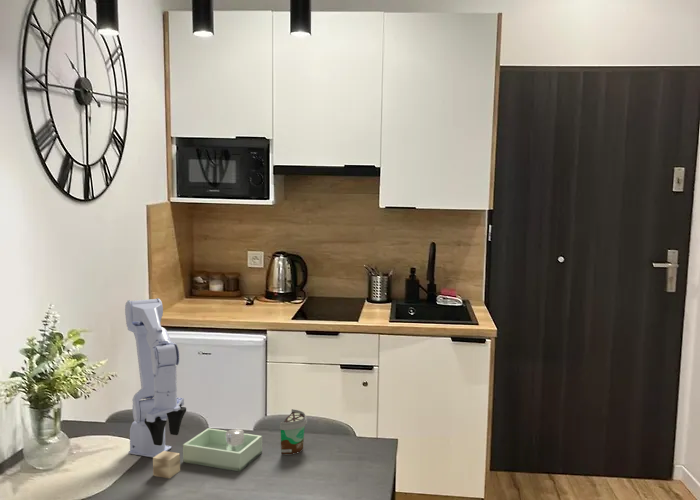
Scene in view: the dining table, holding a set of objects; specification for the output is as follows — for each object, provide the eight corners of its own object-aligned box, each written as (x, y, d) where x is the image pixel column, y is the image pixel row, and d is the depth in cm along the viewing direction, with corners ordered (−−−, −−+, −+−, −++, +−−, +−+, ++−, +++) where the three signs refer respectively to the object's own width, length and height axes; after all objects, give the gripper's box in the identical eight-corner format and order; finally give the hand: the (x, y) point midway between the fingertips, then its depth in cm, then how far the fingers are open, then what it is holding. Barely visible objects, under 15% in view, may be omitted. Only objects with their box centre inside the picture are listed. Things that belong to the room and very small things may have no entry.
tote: (183, 462, 193) (182, 444, 193) (208, 444, 206) (208, 428, 205) (239, 471, 187) (239, 453, 187) (262, 452, 200) (262, 435, 200)
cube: (153, 475, 184) (152, 457, 184) (164, 468, 189) (163, 450, 188) (169, 478, 183) (169, 460, 182) (180, 471, 187) (179, 453, 187)
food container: (300, 458, 196) (300, 424, 195) (279, 456, 198) (279, 422, 197) (311, 442, 208) (312, 410, 207) (291, 440, 210) (292, 408, 209)
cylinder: (223, 459, 193) (222, 434, 193) (231, 452, 198) (230, 428, 198) (240, 460, 192) (239, 436, 192) (247, 453, 197) (246, 429, 196)
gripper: (162, 399, 175) (163, 451, 177) (193, 383, 189) (193, 431, 190) (139, 396, 178) (140, 447, 179) (170, 380, 191) (171, 428, 193)
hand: (166, 439), depth 185 cm, fingers open, 7 cm apart
